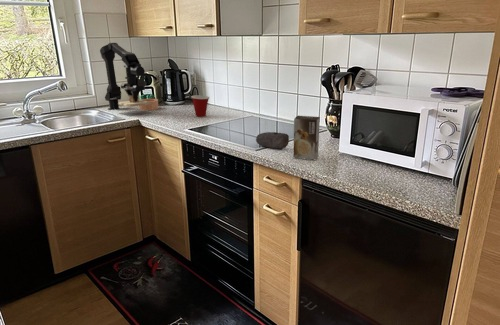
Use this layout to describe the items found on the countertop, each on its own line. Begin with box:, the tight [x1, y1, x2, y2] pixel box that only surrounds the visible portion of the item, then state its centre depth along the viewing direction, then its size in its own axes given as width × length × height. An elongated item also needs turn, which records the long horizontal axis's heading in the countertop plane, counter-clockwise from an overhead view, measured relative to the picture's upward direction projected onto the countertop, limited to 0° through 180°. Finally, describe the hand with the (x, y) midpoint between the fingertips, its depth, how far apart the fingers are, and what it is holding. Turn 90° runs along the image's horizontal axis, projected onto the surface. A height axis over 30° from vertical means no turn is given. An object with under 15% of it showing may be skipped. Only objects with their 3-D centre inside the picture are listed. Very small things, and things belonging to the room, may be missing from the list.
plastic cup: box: [190, 94, 210, 118], centre depth 226 cm, size 11×11×12 cm
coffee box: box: [292, 115, 321, 160], centre depth 147 cm, size 9×6×16 cm
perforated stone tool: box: [255, 131, 290, 150], centre depth 162 cm, size 15×5×7 cm, turn 59°
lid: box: [118, 95, 151, 108], centre depth 231 cm, size 14×14×5 cm
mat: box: [118, 109, 151, 118], centre depth 234 cm, size 15×15×1 cm
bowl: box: [138, 98, 160, 111], centre depth 248 cm, size 12×12×6 cm
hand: (134, 101), depth 232 cm, fingers closed on lid, 4 cm apart
